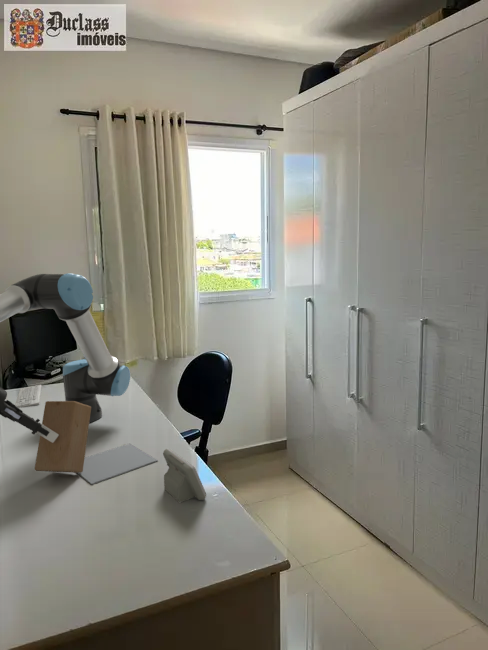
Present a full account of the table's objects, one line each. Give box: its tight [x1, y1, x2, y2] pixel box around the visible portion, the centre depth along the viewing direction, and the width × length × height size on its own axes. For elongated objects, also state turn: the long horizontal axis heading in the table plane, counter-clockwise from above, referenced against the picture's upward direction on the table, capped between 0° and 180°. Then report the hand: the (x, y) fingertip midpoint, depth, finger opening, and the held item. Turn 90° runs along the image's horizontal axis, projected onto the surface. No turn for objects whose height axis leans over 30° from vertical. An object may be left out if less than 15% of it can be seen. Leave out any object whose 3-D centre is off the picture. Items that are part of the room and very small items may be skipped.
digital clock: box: [162, 448, 207, 503], centre depth 135 cm, size 16×9×11 cm, turn 24°
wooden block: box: [34, 400, 91, 474], centre depth 147 cm, size 10×10×20 cm
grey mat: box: [77, 443, 158, 486], centre depth 154 cm, size 22×18×1 cm
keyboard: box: [14, 384, 42, 409], centre depth 223 cm, size 29×10×2 cm, turn 20°
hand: (54, 438), depth 141 cm, fingers closed
